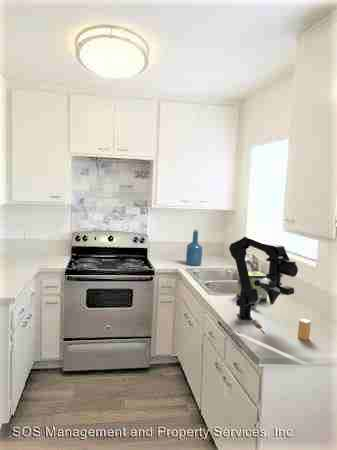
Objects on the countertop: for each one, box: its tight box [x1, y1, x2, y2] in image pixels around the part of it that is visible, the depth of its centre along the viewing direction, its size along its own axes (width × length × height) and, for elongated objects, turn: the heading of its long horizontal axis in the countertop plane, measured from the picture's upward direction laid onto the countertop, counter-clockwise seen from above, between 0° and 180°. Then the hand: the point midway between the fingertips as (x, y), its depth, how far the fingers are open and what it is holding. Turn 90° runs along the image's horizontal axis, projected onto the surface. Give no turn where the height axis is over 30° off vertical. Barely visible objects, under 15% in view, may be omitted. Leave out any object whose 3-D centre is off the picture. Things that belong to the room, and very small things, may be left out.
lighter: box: [251, 295, 262, 310], centre depth 201 cm, size 7×2×8 cm, turn 55°
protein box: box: [236, 271, 268, 302], centre depth 220 cm, size 10×16×16 cm
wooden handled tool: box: [251, 319, 266, 335], centre depth 170 cm, size 14×2×2 cm, turn 5°
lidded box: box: [297, 318, 312, 341], centre depth 160 cm, size 4×4×8 cm
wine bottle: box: [185, 229, 203, 267], centre depth 308 cm, size 14×13×30 cm
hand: (271, 304), depth 172 cm, fingers closed
